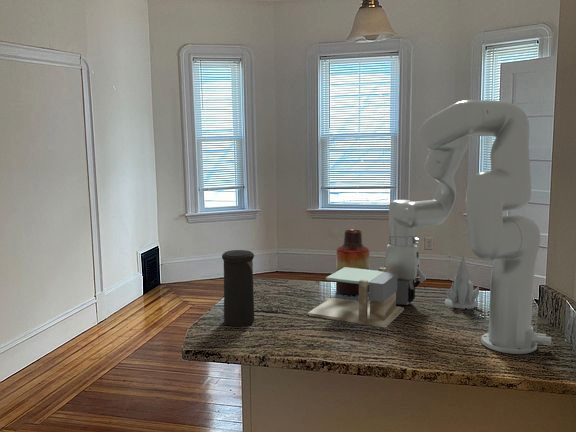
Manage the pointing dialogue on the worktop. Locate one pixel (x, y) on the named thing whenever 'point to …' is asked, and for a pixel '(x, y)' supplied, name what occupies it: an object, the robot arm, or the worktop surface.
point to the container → (238, 287)
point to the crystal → (462, 290)
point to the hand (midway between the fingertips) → (401, 299)
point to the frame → (360, 308)
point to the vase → (351, 260)
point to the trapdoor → (369, 281)
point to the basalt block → (402, 291)
